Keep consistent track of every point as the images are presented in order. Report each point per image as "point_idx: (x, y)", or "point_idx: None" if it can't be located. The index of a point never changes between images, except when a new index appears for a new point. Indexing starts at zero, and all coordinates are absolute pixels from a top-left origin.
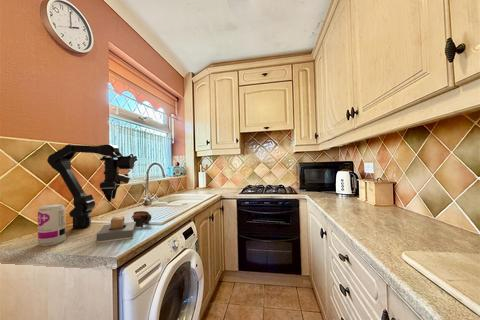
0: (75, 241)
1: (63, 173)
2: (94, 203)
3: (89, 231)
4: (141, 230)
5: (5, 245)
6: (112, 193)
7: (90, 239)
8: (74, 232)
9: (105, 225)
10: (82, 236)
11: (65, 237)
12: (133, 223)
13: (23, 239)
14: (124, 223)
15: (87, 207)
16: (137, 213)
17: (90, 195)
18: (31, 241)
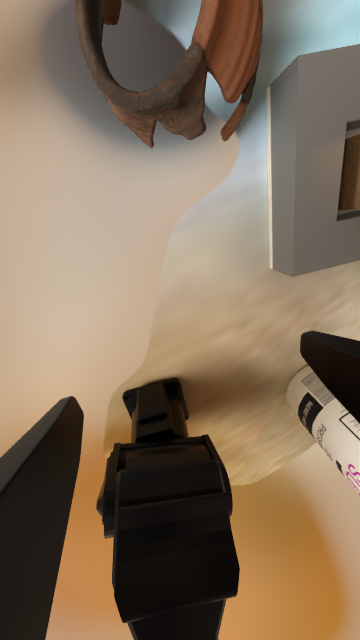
0: (332, 325)
1: None
2: (130, 484)
3: (228, 342)
4: (313, 26)
5: (282, 465)
6: (52, 496)
7: (335, 284)
8: (224, 386)
9: (305, 265)
10: (285, 333)
11: (310, 369)
12: (343, 64)
13: (248, 465)
14: (311, 152)
15: (214, 460)
16: (227, 26)
17: (141, 598)
18: (274, 438)
